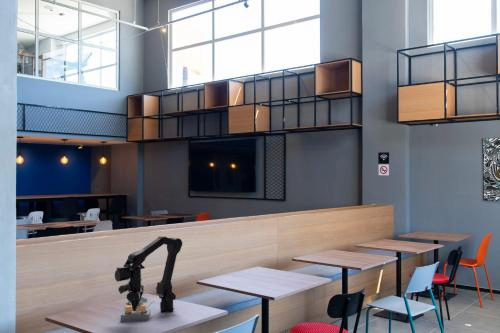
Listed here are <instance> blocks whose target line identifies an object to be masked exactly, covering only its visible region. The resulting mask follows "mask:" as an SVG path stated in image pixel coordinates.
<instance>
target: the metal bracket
mask: <svg viewBox="0 0 500 333" xmlns="http://www.w3.org/2000/svg"><path fill="white" fill-rule="evenodd" d="M153 303H154V301H153V300H150V299H148V298H146V297H145V296H144V297H143V296H142V297H141V300H140V303H139V305H146V310H148V307H149V306H150V305H151V304H153ZM125 304H126V305H130V304H131V302H130V301H129V300H127V299H126V301H125Z"/></svg>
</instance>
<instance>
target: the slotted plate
mask: <svg viewBox="0 0 500 333" xmlns="http://www.w3.org/2000/svg"><path fill="white" fill-rule="evenodd" d="M151 313H152V312H151V309H146V313H141V311H131V312H130V314H126V311H125V310H123V311H122V313H121V314H120V322H134V321H135V322H139V321H149V320H150V318H151Z"/></svg>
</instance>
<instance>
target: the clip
mask: <svg viewBox="0 0 500 333" xmlns="http://www.w3.org/2000/svg"><path fill="white" fill-rule="evenodd" d="M146 310H147V309H146V305H137V308H136V311H141V313H146ZM124 311H126V314H130V312H131V311H133V308H132V305H130V304H129V305H127V304H126V305H125V310H124Z"/></svg>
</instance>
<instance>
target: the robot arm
mask: <svg viewBox="0 0 500 333" xmlns="http://www.w3.org/2000/svg"><path fill="white" fill-rule="evenodd" d="M163 245H166V250H167V256H166V261H165V266H164V270H163V274H162V279H161V280H160V282H157V283H156V287H155V290H156V295H158V297H159V299H161V300H160V303H159V306H160V308H159V309H160V312H161V313H172V312H174V310H175V308H174V301H175V300H176V298H177V295H176V294H175V293H174V292H173V284H172V278H173V274H174V269H175V265H176V264H175V263H176V260H177V255H178V254H179V253H180V251H181V249H182V247H183V241H182V239H181V238H179V237H178V238H177V237H167V236H164V235H159V236H158V237H157V238H156V239H154V240H153V241H151V242H150V243H149V244H147V245H146V246H145V247H142V248H140V249H139V250H135V251H133V252H132V253H129V255H127V256H128V257H127V259H126V261H125V262H124V264H123V266H121V267H116V270H115V271H114V279H115V281H116V282H118V283H119V282H122V281H128V280H129V281H128V282H126V283H125V284H122V285H120V286H118V288H117V289H118V292H119V293H120V295H122V294H124V293H126V292H128V293H127V294H126V301H127V300H129V301H130V302H131V303H130V304H131V305H132V308H133V311H136V308H137V305H139V303H140V300H141V297H143V295H144V292H145V286H144V285H143V284H142V280H143V279H142V270H144V269H145V266H144V265H143V263H144V262H145V260H146V259H147V257H148V256H149V255H151V254H152V253H154V252H155V251H156V250H158V249H160V248H161V247H162V246H163Z"/></svg>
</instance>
